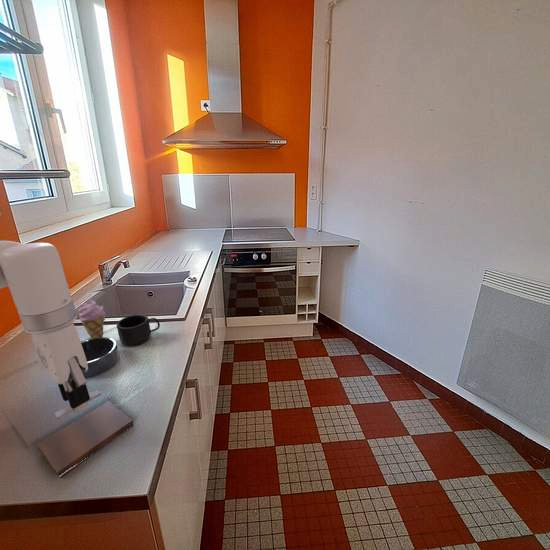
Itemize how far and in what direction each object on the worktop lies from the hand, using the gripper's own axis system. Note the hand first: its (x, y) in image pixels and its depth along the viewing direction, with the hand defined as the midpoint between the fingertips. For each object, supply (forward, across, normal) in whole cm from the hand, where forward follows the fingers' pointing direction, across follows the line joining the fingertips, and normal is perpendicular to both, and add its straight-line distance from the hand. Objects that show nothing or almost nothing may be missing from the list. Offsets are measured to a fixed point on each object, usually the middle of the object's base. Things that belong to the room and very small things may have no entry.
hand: (76, 399), depth 58 cm
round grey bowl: (+10, -24, +12) cm, 29 cm away
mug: (+10, -25, +27) cm, 38 cm away
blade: (+2, 0, 0) cm, 2 cm away
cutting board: (+10, 0, 0) cm, 10 cm away
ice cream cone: (+10, -33, +18) cm, 39 cm away
